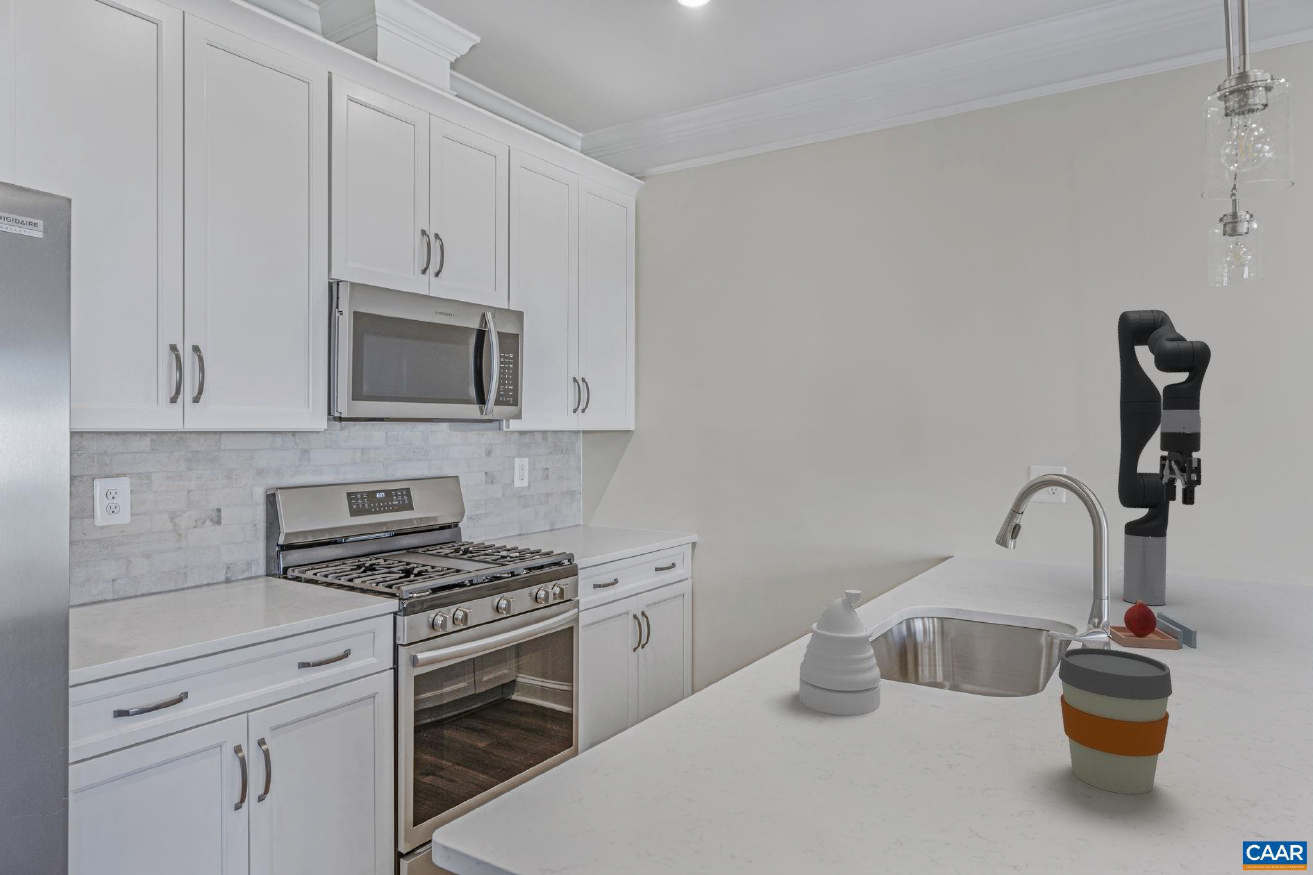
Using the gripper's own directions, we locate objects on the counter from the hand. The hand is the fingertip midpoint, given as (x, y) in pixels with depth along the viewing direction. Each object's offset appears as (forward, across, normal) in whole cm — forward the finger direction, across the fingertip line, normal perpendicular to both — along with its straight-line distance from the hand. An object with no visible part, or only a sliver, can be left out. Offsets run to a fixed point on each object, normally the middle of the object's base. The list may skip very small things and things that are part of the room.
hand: (1178, 502), depth 176 cm
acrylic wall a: (+28, +9, -4) cm, 30 cm away
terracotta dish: (+28, +14, -13) cm, 34 cm away
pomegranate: (+28, +14, -13) cm, 34 cm away
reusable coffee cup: (+28, +85, -44) cm, 100 cm away
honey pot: (+28, +63, -77) cm, 103 cm away
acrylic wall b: (+28, +10, -7) cm, 31 cm away
